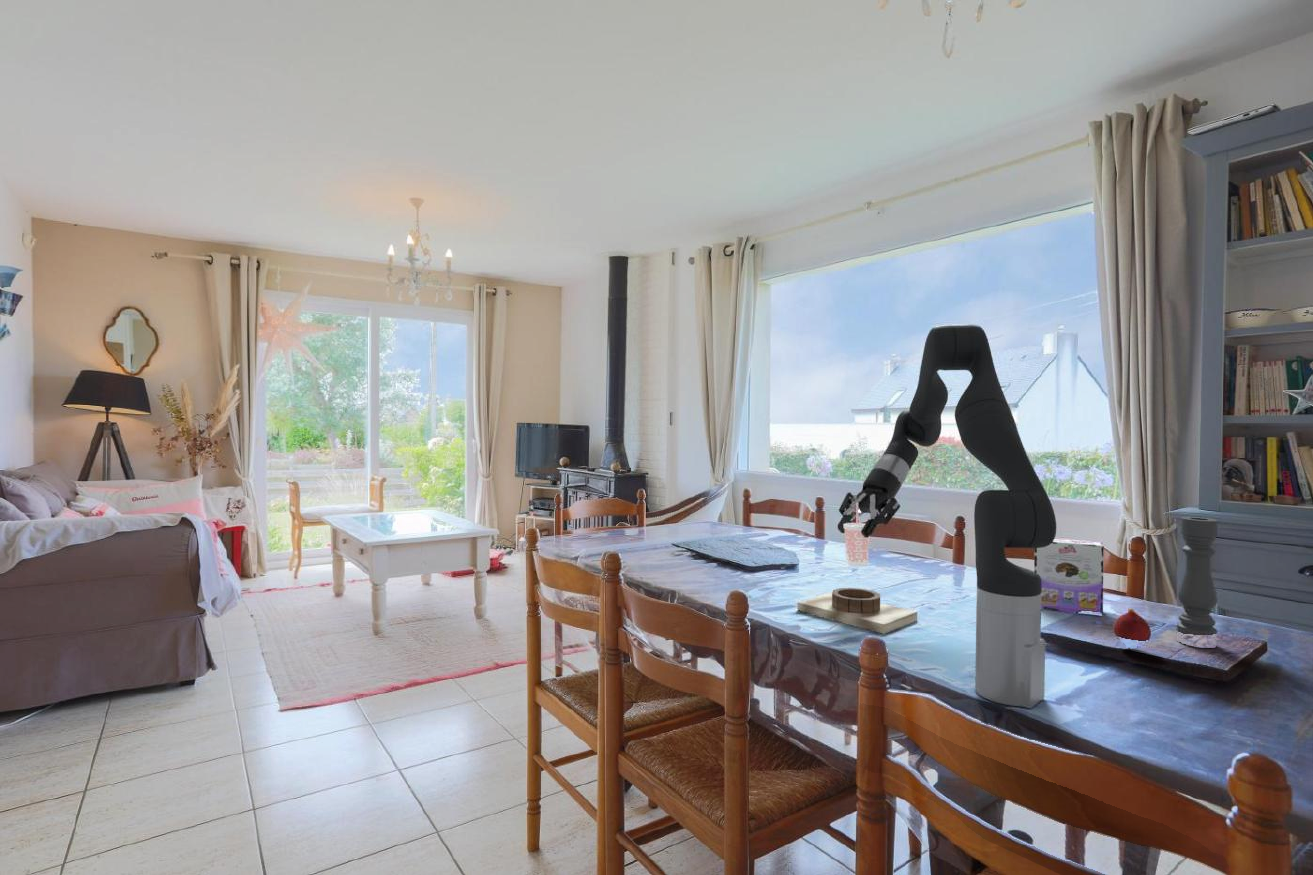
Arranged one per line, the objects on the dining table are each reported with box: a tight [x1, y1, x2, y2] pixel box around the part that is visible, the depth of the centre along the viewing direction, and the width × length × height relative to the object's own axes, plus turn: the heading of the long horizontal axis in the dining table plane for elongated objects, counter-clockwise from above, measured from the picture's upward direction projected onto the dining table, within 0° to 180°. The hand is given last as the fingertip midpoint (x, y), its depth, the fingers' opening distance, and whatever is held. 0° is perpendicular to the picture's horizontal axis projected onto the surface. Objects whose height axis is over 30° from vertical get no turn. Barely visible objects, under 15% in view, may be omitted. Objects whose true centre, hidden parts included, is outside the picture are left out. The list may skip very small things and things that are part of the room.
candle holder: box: [1176, 516, 1219, 635], centre depth 132 cm, size 6×6×25 cm
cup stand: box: [796, 587, 918, 635], centre depth 150 cm, size 22×14×5 cm, turn 41°
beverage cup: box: [843, 503, 871, 567], centre depth 150 cm, size 6×6×14 cm
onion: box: [1113, 607, 1152, 641], centre depth 128 cm, size 6×6×8 cm
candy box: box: [1033, 537, 1104, 614], centre depth 155 cm, size 14×6×16 cm, turn 58°
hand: (852, 532), depth 149 cm, fingers closed on beverage cup, 6 cm apart
